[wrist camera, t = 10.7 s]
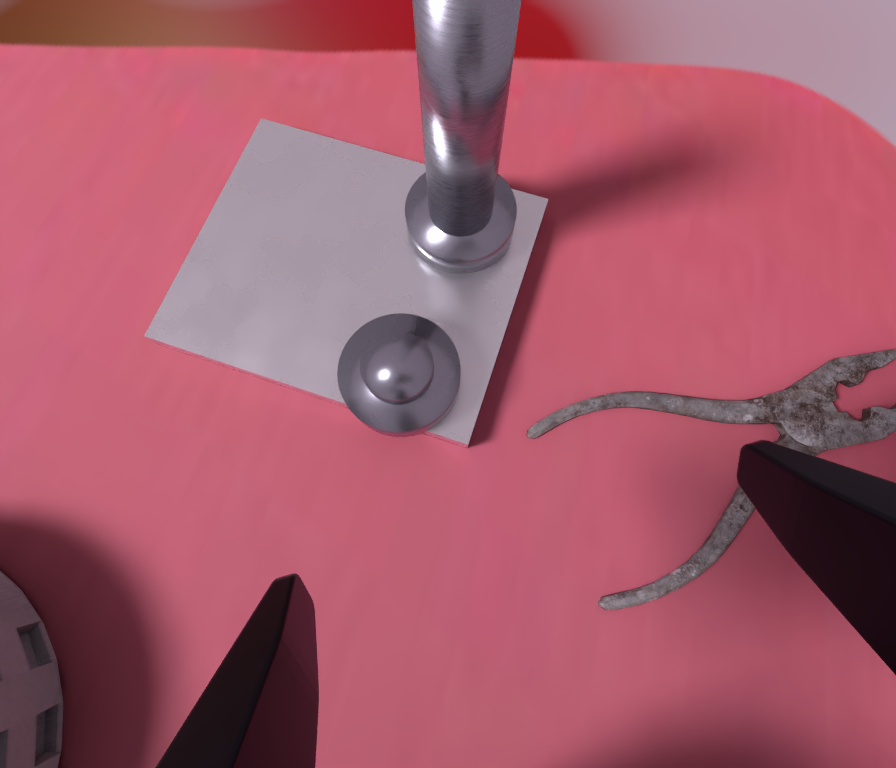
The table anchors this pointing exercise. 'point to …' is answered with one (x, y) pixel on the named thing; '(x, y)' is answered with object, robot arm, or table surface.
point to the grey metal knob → (399, 374)
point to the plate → (331, 271)
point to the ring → (27, 685)
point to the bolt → (463, 133)
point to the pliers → (792, 411)
